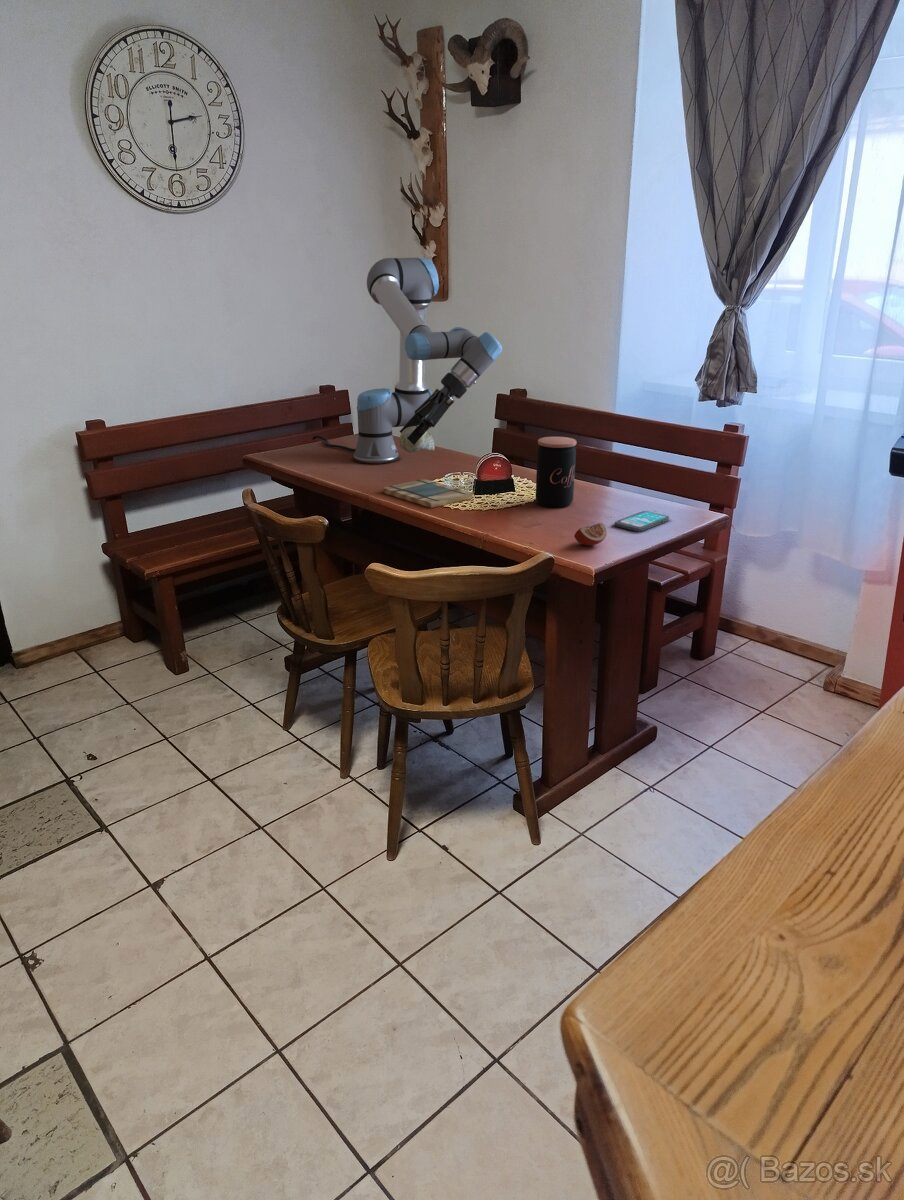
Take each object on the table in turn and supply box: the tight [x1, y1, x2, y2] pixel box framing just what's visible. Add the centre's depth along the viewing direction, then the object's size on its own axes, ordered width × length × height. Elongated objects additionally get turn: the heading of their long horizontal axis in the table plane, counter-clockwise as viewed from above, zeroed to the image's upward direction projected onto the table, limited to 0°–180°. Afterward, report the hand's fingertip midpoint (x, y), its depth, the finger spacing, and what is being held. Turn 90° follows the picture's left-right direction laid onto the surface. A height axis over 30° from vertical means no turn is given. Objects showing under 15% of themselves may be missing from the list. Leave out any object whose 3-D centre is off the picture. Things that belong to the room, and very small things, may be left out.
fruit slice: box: [573, 522, 608, 546], centre depth 197 cm, size 8×7×5 cm
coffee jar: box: [535, 436, 578, 509], centre depth 228 cm, size 11×11×18 cm
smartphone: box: [614, 510, 670, 532], centre depth 214 cm, size 9×1×15 cm
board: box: [382, 478, 474, 509], centre depth 239 cm, size 22×16×2 cm
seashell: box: [398, 426, 436, 453], centre depth 238 cm, size 10×10×10 cm
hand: (406, 438), depth 237 cm, fingers closed on seashell, 10 cm apart
